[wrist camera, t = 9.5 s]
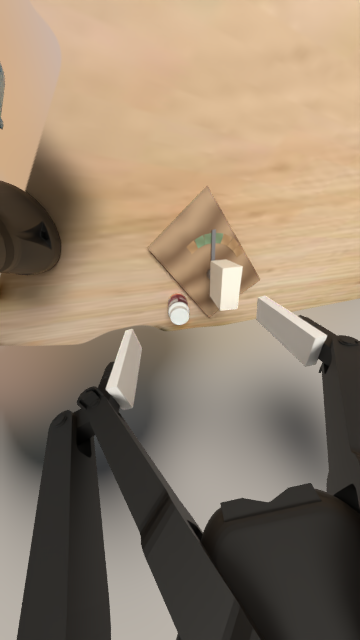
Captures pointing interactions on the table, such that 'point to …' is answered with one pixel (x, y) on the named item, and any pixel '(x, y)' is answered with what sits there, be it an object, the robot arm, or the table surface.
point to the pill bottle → (178, 309)
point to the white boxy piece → (224, 280)
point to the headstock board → (200, 249)
